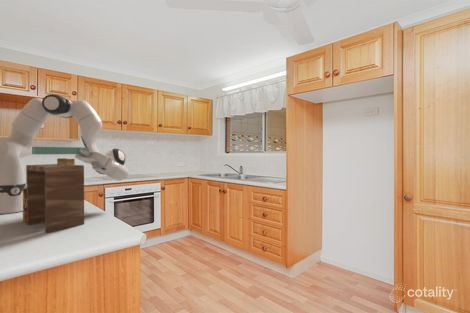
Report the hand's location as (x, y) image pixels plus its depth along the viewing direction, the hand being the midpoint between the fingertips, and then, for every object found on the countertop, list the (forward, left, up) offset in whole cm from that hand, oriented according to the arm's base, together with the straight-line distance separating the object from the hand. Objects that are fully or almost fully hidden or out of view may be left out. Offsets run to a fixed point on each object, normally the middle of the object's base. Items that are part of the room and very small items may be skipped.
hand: (76, 149), depth 120 cm
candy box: (-10, -13, -33) cm, 37 cm away
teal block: (0, -6, -2) cm, 7 cm away
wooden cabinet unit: (+5, -11, -33) cm, 35 cm away
